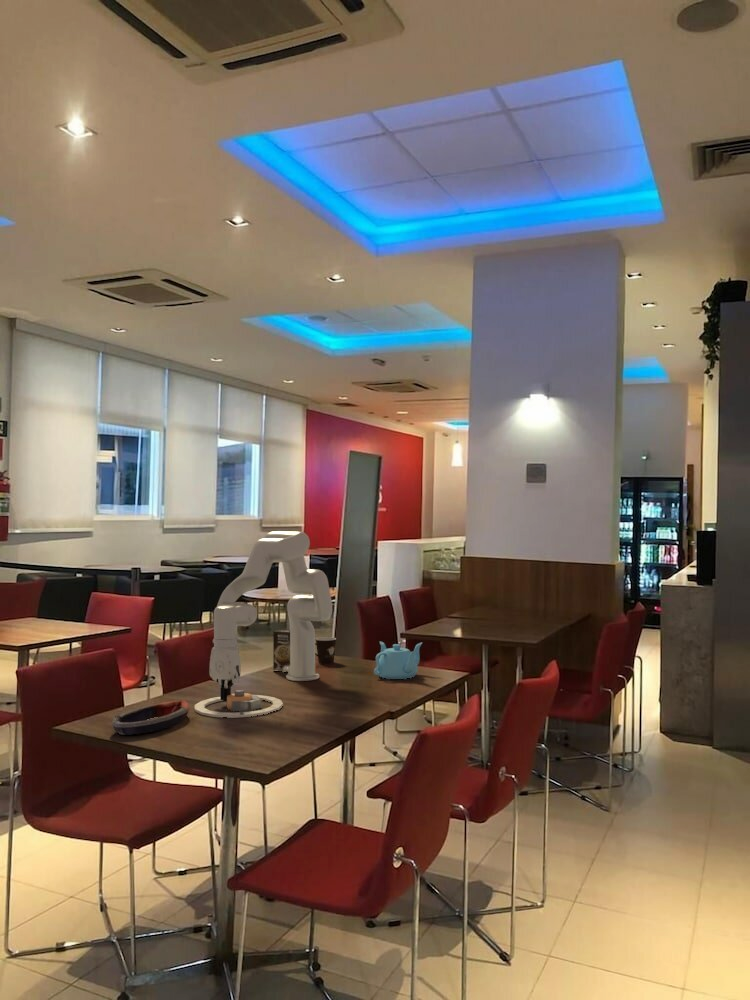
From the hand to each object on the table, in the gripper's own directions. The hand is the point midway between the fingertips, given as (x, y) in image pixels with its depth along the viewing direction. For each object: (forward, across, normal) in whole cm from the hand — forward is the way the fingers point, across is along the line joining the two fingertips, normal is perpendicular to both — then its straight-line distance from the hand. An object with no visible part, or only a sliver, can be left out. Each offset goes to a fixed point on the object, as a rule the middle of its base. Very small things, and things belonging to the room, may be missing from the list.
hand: (225, 699), depth 268 cm
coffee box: (+2, -18, +56) cm, 59 cm away
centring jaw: (+2, +10, 0) cm, 10 cm away
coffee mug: (+2, -17, +78) cm, 80 cm away
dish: (+3, -1, -30) cm, 30 cm away
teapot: (+2, +26, +70) cm, 75 cm away
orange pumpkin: (+2, +6, 0) cm, 6 cm away
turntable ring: (+2, +6, 0) cm, 6 cm away
